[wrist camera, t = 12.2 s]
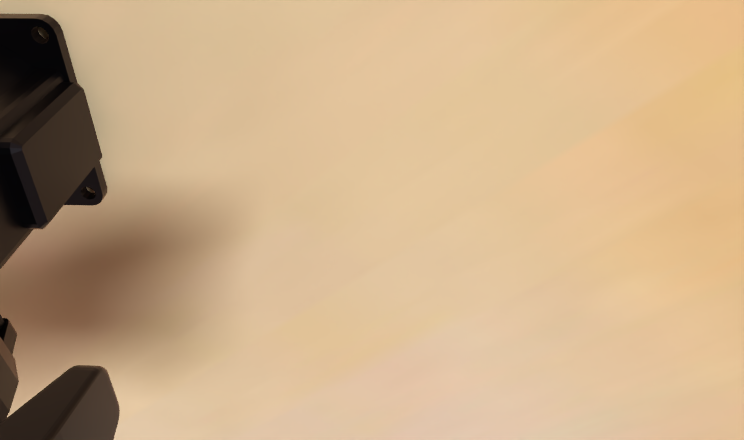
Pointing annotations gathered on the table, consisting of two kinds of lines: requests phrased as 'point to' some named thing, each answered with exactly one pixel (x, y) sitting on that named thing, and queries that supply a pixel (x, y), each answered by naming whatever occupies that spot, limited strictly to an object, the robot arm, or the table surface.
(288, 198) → the table surface
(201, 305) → the table surface
